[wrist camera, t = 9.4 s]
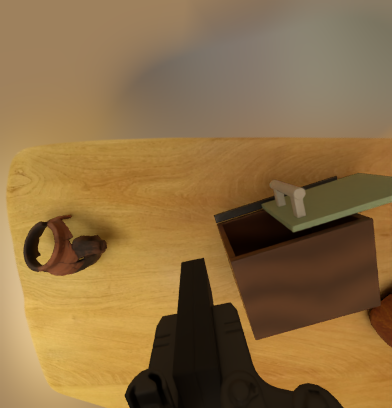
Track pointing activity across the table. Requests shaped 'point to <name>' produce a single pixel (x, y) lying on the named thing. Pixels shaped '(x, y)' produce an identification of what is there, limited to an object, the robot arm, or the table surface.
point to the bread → (383, 319)
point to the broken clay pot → (62, 249)
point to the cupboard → (299, 267)
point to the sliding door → (327, 200)
